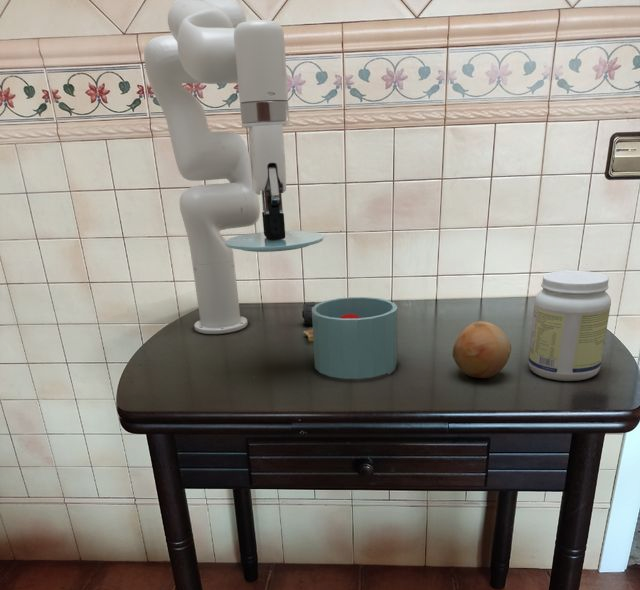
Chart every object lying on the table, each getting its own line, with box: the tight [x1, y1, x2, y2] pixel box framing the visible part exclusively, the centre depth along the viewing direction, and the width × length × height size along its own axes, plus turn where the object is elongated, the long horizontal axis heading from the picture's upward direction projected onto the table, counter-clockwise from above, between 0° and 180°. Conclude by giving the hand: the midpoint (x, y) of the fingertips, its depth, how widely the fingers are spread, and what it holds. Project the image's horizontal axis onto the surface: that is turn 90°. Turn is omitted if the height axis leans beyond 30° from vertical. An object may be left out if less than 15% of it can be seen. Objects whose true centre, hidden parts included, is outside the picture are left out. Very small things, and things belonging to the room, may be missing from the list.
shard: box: [303, 328, 314, 343], centre depth 128 cm, size 11×8×2 cm
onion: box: [452, 320, 512, 379], centre depth 105 cm, size 10×10×10 cm
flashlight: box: [301, 301, 319, 326], centre depth 140 cm, size 15×5×5 cm, turn 93°
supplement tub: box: [527, 270, 612, 382], centre depth 104 cm, size 12×12×17 cm
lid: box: [225, 204, 325, 253], centre depth 101 cm, size 17×17×7 cm
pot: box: [312, 296, 398, 380], centre depth 112 cm, size 16×16×12 cm
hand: (274, 236), depth 101 cm, fingers closed on lid, 2 cm apart
